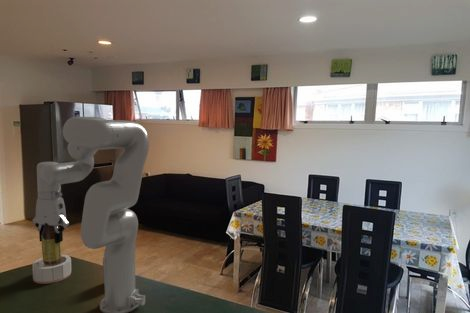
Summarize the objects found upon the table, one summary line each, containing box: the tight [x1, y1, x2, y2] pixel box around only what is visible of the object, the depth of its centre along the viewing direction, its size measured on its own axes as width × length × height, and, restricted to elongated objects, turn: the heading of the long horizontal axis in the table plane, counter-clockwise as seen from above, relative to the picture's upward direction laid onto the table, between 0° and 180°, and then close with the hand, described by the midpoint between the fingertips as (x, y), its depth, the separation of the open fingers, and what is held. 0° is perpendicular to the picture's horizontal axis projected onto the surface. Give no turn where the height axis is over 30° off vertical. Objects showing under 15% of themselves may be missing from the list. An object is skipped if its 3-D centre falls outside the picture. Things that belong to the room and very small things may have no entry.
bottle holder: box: [31, 253, 72, 285], centre depth 123 cm, size 13×13×6 cm
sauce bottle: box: [41, 216, 62, 265], centre depth 122 cm, size 6×6×20 cm
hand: (51, 240), depth 122 cm, fingers closed on sauce bottle, 6 cm apart
